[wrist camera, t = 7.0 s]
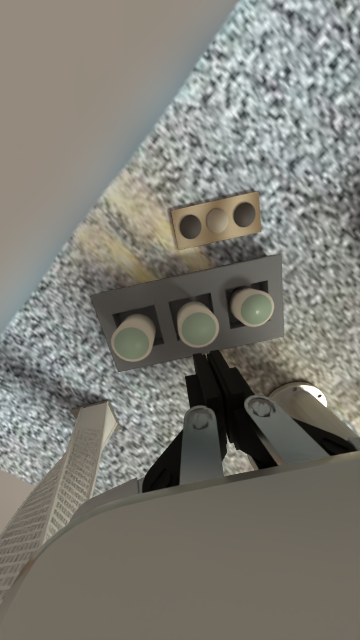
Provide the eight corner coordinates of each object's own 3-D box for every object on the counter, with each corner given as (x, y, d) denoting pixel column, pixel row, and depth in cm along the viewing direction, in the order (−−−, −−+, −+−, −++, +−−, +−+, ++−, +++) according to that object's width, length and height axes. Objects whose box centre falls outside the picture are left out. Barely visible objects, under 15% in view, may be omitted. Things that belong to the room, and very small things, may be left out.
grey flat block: (267, 255, 26) (281, 254, 23) (271, 328, 30) (284, 336, 27) (100, 292, 27) (90, 296, 23) (123, 360, 30) (118, 372, 27)
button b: (213, 330, 25) (222, 343, 21) (180, 337, 26) (182, 352, 21) (207, 298, 24) (216, 305, 20) (173, 305, 24) (174, 314, 20)
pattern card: (256, 192, 24) (259, 190, 23) (259, 232, 25) (261, 231, 25) (171, 212, 24) (171, 210, 23) (178, 250, 26) (178, 249, 25)
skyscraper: (68, 402, 32) (-433, 1071, 5) (111, 391, 32) (-192, 1030, 5) (87, 436, 35) (-195, 1009, 8) (126, 426, 34) (-26, 980, 8)
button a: (258, 314, 28) (275, 323, 23) (229, 320, 28) (240, 330, 23) (256, 283, 26) (274, 287, 22) (225, 290, 26) (236, 295, 22)
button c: (159, 341, 26) (156, 357, 21) (127, 348, 26) (117, 366, 21) (150, 310, 24) (146, 320, 20) (116, 317, 24) (104, 329, 20)
